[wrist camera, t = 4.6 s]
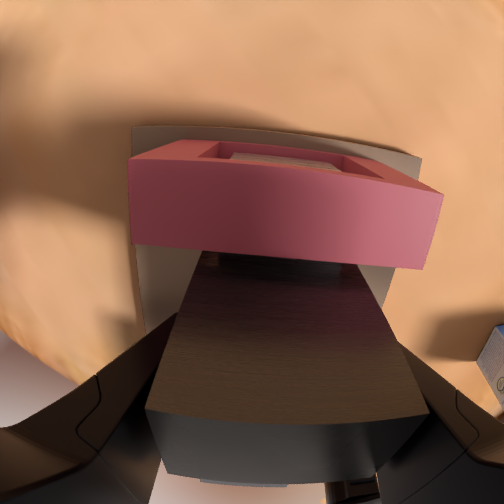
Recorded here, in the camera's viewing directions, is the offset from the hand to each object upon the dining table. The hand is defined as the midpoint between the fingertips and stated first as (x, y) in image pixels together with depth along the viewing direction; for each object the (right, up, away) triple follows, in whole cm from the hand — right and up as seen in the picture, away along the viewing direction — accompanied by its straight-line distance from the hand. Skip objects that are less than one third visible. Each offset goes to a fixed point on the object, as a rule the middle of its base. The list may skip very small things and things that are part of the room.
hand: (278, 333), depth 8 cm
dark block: (0, 0, +7) cm, 7 cm away
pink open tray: (0, +6, +5) cm, 8 cm away
